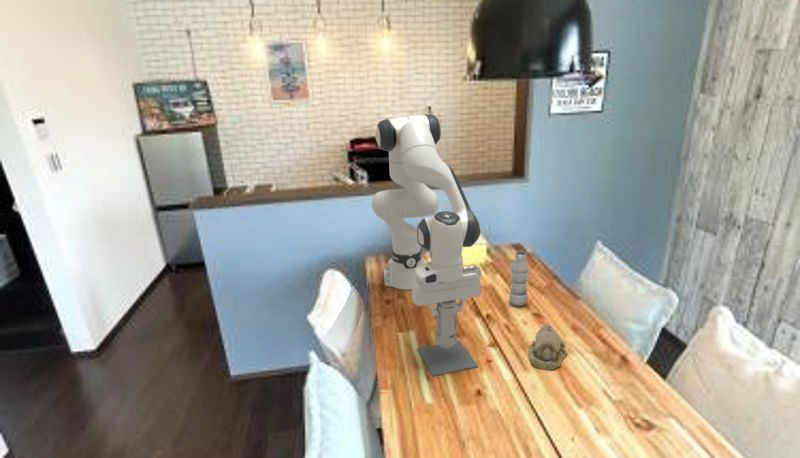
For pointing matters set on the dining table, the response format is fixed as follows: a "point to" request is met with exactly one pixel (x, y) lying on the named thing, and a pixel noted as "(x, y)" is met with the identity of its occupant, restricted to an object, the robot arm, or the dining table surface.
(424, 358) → the mat
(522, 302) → the plastic bottle
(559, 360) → the ceramic model
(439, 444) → the dining table surface
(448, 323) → the energy drink can
